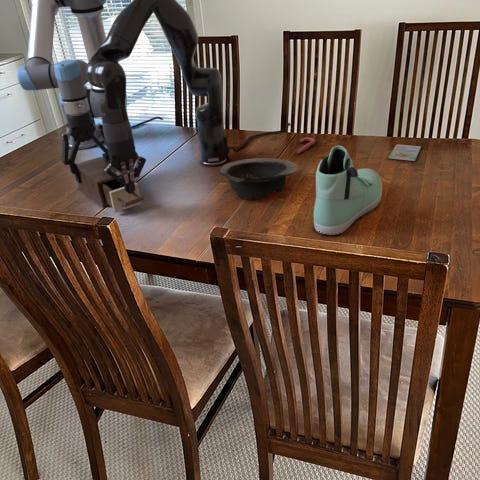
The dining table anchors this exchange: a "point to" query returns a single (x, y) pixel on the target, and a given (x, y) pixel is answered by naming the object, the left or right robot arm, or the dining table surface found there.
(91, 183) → the cabinet
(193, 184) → the dining table surface
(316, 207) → the sneaker
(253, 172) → the stone bowl
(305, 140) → the candy cane
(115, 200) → the drawer
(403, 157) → the baking ingredient package
